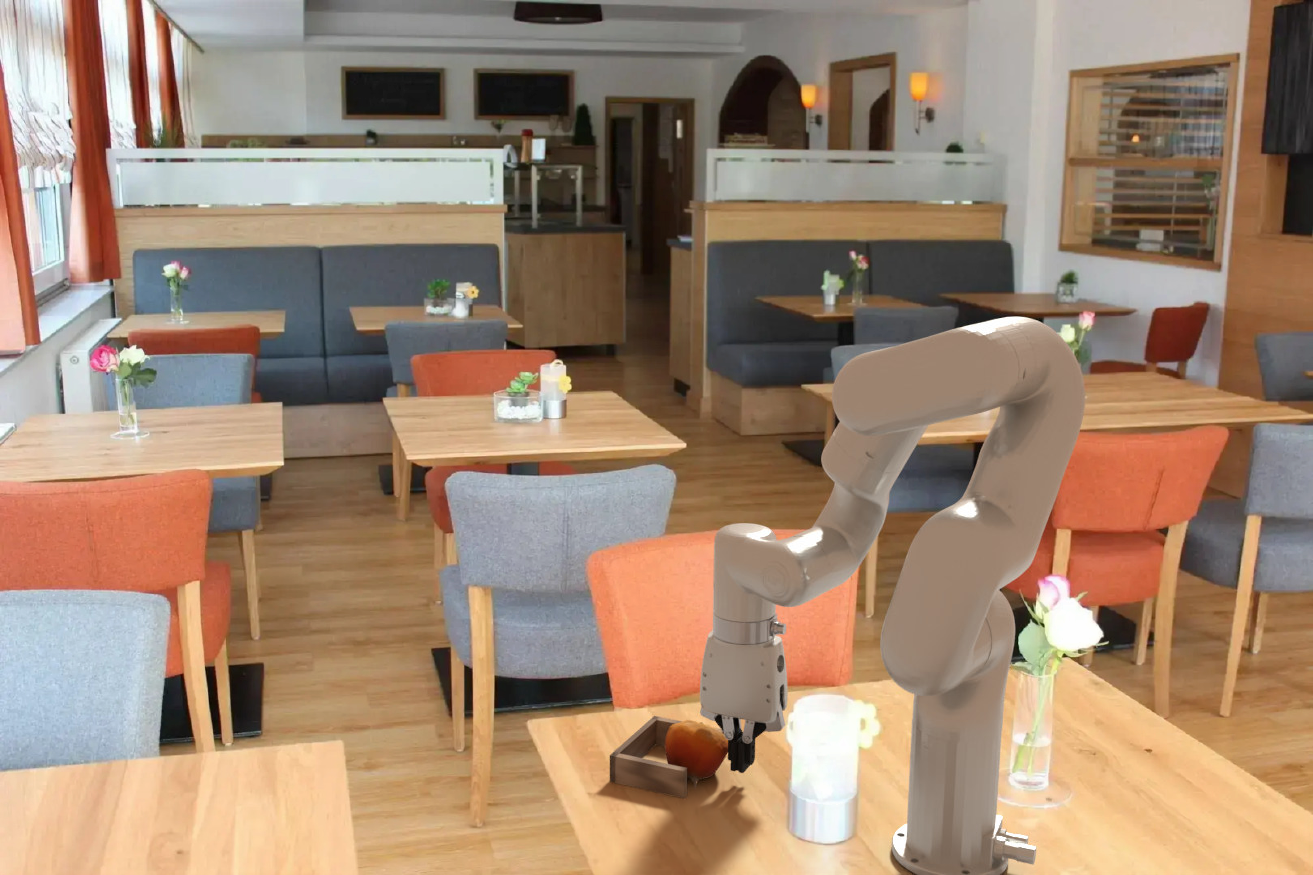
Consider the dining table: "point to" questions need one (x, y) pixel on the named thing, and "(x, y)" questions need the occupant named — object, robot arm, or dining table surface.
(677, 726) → the fruit
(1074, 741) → the dining table surface
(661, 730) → the u-shaped wall frame
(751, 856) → the dining table surface
